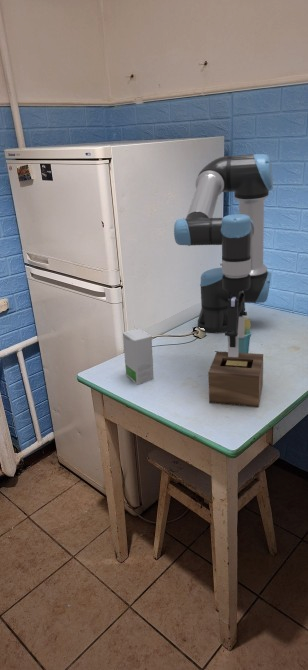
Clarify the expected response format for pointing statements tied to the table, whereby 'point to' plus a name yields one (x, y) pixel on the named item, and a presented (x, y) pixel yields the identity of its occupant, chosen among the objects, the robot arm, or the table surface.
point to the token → (237, 364)
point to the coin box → (236, 380)
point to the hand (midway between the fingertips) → (236, 346)
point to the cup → (245, 338)
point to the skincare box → (138, 355)
